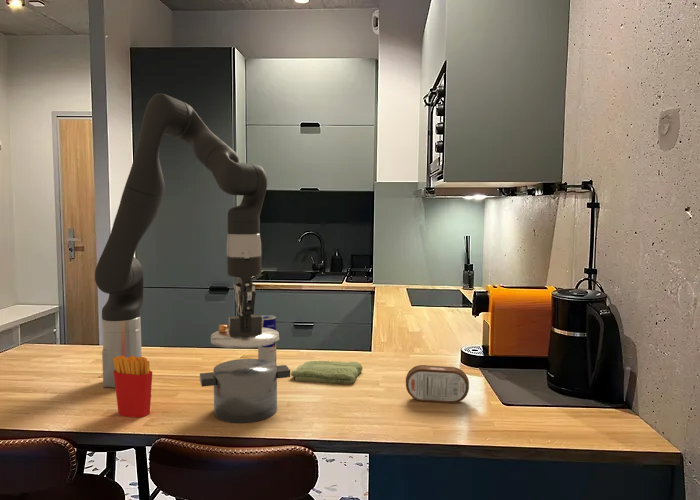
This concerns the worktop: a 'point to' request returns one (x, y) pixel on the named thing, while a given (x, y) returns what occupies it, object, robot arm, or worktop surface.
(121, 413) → the french fries
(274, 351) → the beverage can
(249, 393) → the pot
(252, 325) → the lid
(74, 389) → the worktop surface
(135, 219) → the robot arm
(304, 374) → the washcloth
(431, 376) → the tin
